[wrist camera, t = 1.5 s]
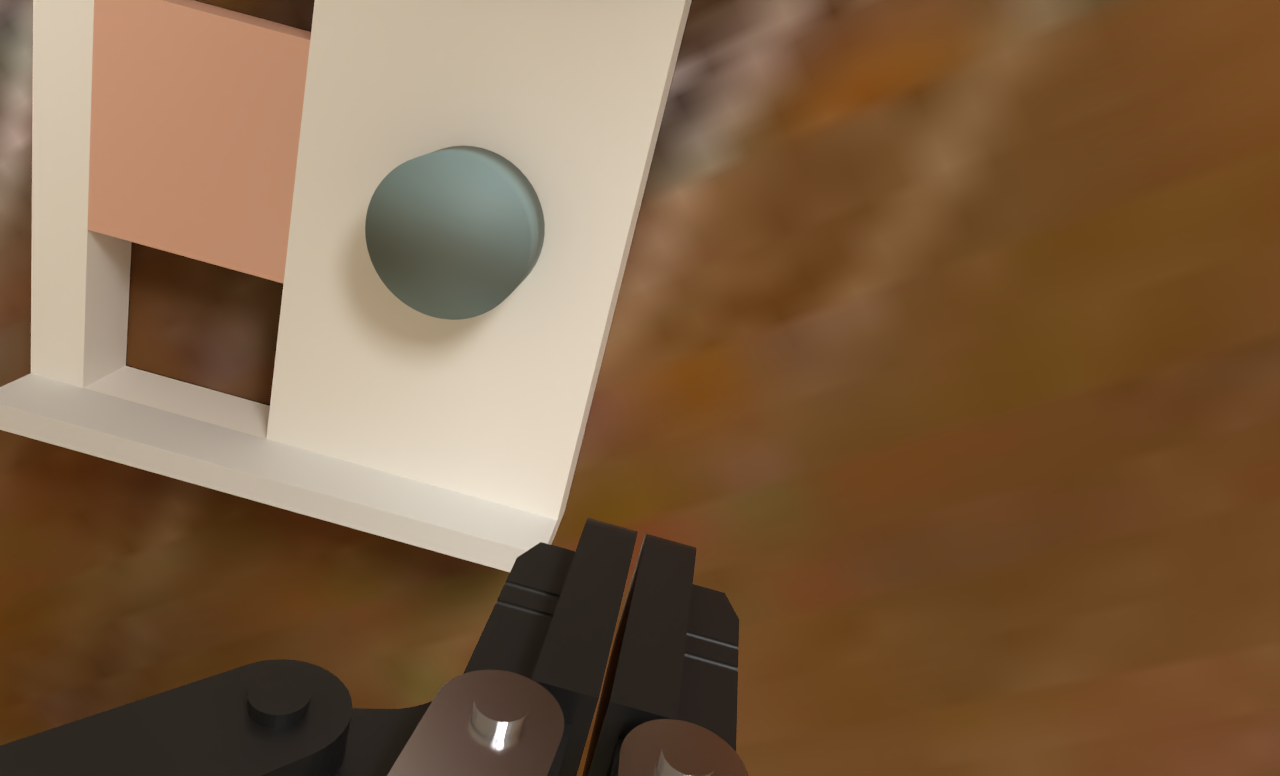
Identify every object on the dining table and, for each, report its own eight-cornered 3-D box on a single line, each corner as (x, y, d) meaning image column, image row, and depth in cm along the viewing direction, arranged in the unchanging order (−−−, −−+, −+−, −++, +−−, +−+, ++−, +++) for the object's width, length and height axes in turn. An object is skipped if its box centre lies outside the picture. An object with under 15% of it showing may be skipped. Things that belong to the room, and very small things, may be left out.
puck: (407, 127, 30) (377, 134, 27) (559, 168, 29) (542, 179, 27) (384, 277, 31) (354, 295, 29) (528, 316, 31) (509, 337, 29)
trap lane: (93, -269, 29) (-34, -330, 24) (717, -104, 29) (710, -133, 24) (76, 375, 37) (-22, 423, 32) (564, 511, 36) (536, 580, 32)
